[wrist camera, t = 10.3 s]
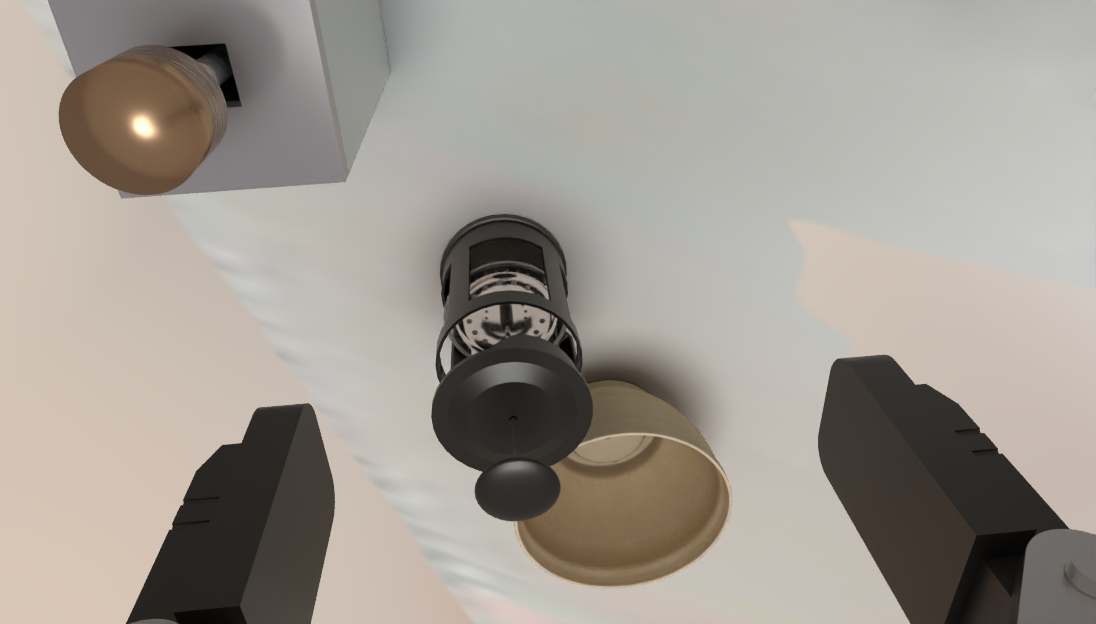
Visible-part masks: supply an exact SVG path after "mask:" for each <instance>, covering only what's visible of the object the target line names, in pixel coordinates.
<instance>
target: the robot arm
mask: <svg viewBox="0 0 1096 624" xmlns="http://www.w3.org/2000/svg"><path fill="white" fill-rule="evenodd" d="M818 449H819V456H820V460H821V464H822V467H823V470H824V472H825V474H826V476H827V478H828V480H829V482H830V483H831V485H832V487H833V489H834V490H835V492H836V494H837V496H838V497H839V499H840V501H841V503H842V504H843V506H844V508H845V510H846V511H847V513H848V515H849V517H850V518H851V520H852V522H853V524H854V525H855V527H856V529H857V531H858V532H859V534H860V536H861V538H862V539H863V541H864V543H865V545H866V546H867V548H868V550H869V552H870V553H871V555H872V557H873V559H874V560H875V562H876V564H877V566H878V567H879V569H880V571H881V573H882V574H883V576H884V578H885V580H886V581H887V583H888V585H889V587H890V588H891V590H892V592H893V594H894V595H895V597H896V599H897V601H898V602H899V604H900V606H901V608H902V610H903V611H904V613H905V615H906V617H907V618H908V620H909V622H910V624H1096V535H1095V534H1091V533H1087V532H1084V531H1078V530H1072V529H1069V528H1068V527H1067V526H1066V525H1065V523H1064V522H1063V521H1062V520H1061V519H1060V518H1059V517H1058V515H1057V514H1056V513H1055V512H1054V511H1053V510H1052V509H1051V508H1050V506H1049V505H1048V504H1047V503H1046V502H1045V501H1044V500H1043V499H1042V497H1040V495H1039V494H1038V493H1037V492H1036V491H1035V490H1034V489H1033V488H1032V486H1031V485H1030V484H1029V483H1028V482H1027V481H1026V480H1025V478H1024V477H1023V476H1022V475H1021V474H1020V473H1019V472H1018V471H1017V470H1016V468H1015V467H1014V466H1013V465H1012V464H1011V463H1010V462H1009V461H1008V459H1007V458H1006V457H1005V456H1004V455H1003V454H999V453H998V448H997V447H996V446H995V445H994V444H993V442H992V441H991V440H990V439H989V438H988V437H987V436H986V435H985V433H980V428H979V427H978V426H977V425H976V423H974V422H973V420H972V419H971V418H970V417H969V416H968V414H967V413H966V412H965V411H964V410H963V409H962V408H961V407H960V405H959V404H957V403H956V402H954V401H953V400H951V399H949V398H948V397H946V396H945V395H943V394H941V393H940V392H938V391H937V390H935V389H933V388H932V387H930V386H929V385H927V384H921V385H915V384H914V383H913V381H912V380H911V379H910V378H909V377H908V375H907V374H906V373H905V372H904V371H903V369H902V368H901V367H900V366H899V365H898V364H897V362H896V361H895V360H894V359H893V358H892V357H890V356H888V355H876V356H864V357H852V358H841V359H837V360H836V361H835V362H834V363H833V365H832V367H831V371H830V376H829V381H828V386H827V392H826V397H825V402H824V408H823V413H822V418H821V424H820V429H819V435H818ZM183 501H184V504H183V505H181V506H180V508H179V510H178V512H177V515H176V516H175V519H174V521H173V523H172V525H173V528H172V530H169V532H168V534H167V536H166V538H165V540H164V543H163V545H162V547H161V549H160V551H159V554H158V556H157V558H156V560H155V562H154V564H153V566H152V569H151V571H150V573H149V575H148V578H147V579H146V582H145V584H144V587H143V588H142V590H141V592H140V595H139V597H138V599H137V601H136V603H135V606H134V608H133V610H132V612H131V614H130V616H129V618H128V621H127V622H126V624H311V619H312V614H313V610H314V605H315V601H316V596H317V592H318V587H319V583H320V578H321V574H322V568H323V564H324V560H325V555H326V550H327V546H328V541H329V537H330V532H331V527H332V523H333V517H334V509H335V494H334V484H333V479H332V474H331V470H330V467H329V463H328V459H327V455H326V452H325V448H324V444H323V441H322V437H321V433H320V429H319V426H318V422H317V419H316V415H315V412H314V409H313V407H312V406H311V405H310V404H309V403H307V404H295V405H284V406H272V407H261V408H258V409H256V411H255V412H254V414H253V416H252V419H251V421H250V423H249V426H248V428H247V431H246V433H245V436H244V438H243V441H242V443H239V444H229V445H222V446H221V447H220V448H219V449H218V450H217V451H216V452H215V453H214V454H213V455H212V456H211V457H210V458H209V459H208V460H207V461H206V462H205V463H204V464H203V465H202V466H201V467H200V468H199V469H198V470H197V471H196V473H195V475H194V477H193V480H192V482H191V484H190V486H189V488H188V490H187V493H186V495H185V497H184V499H183Z"/></svg>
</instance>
